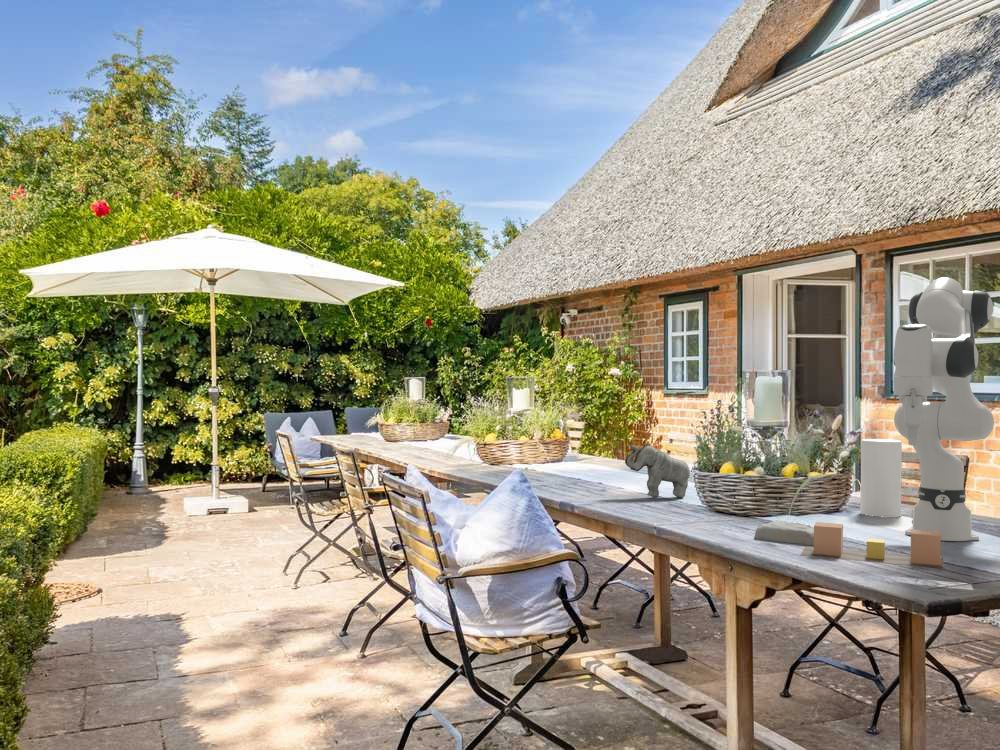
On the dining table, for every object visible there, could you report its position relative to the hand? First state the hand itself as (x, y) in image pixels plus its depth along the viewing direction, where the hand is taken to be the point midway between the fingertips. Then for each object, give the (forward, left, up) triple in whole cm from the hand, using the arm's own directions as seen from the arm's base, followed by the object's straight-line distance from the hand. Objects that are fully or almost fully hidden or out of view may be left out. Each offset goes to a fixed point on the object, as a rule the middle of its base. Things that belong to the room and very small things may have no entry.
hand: (912, 444), depth 214 cm
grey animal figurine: (-79, -86, -29) cm, 120 cm away
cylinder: (-78, -9, -29) cm, 84 cm away
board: (+6, -9, -29) cm, 31 cm away
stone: (-9, -29, -30) cm, 42 cm away
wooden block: (+6, +3, -28) cm, 29 cm away
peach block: (+6, -19, -28) cm, 34 cm away
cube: (+6, -8, -28) cm, 30 cm away
